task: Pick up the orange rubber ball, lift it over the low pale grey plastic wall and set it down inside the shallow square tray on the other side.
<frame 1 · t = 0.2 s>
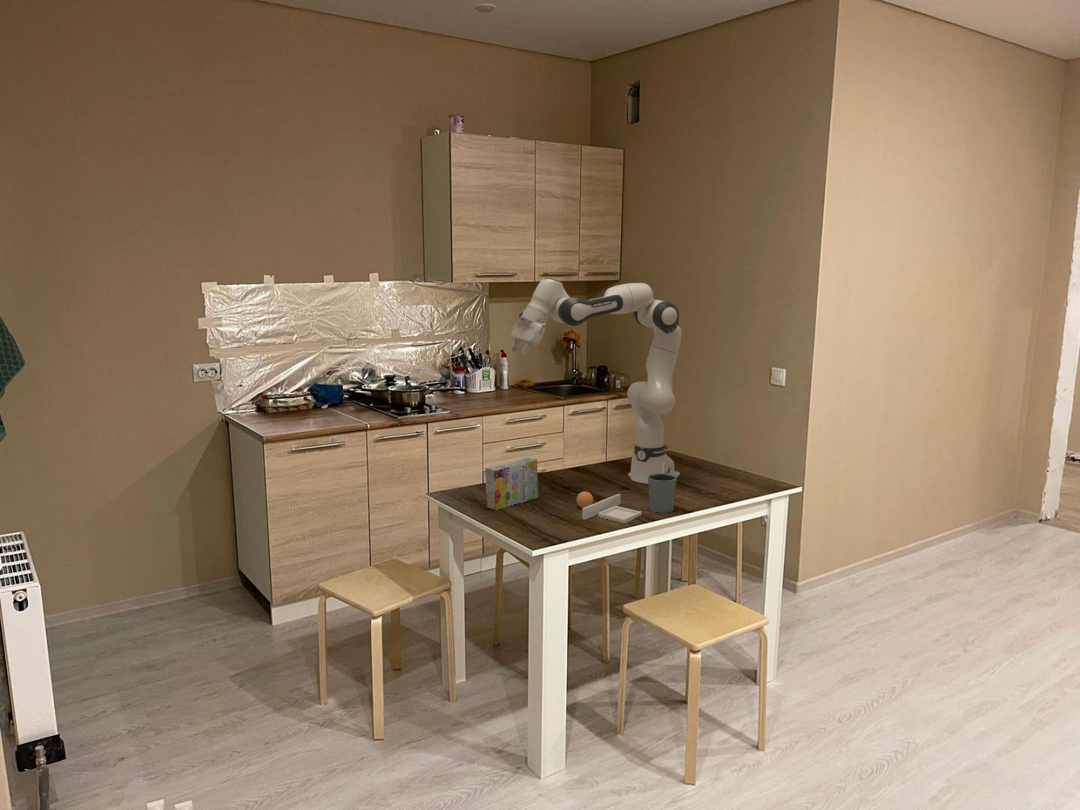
hand: (517, 352, 294), 54 cm above the table, tool tilted 30°, fingers open, 8 cm apart
low wall: (601, 512, 284), on the table
ball: (584, 499, 289), point 3 cm above the table
grey green cup: (661, 509, 288), on the table
square tray: (619, 516, 280), on the table
snack box: (512, 503, 295), on the table
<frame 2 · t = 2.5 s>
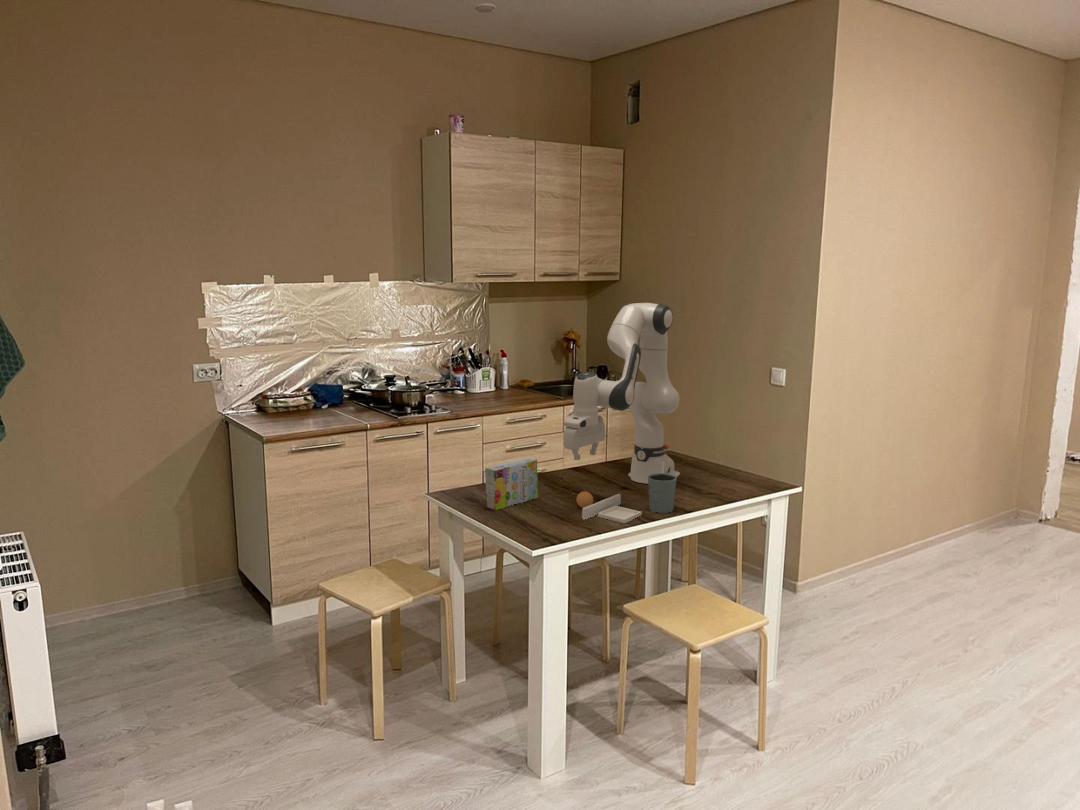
hand: (585, 457, 286), 19 cm above the table, tool pointing down, fingers open, 8 cm apart
nothing on the table moved.
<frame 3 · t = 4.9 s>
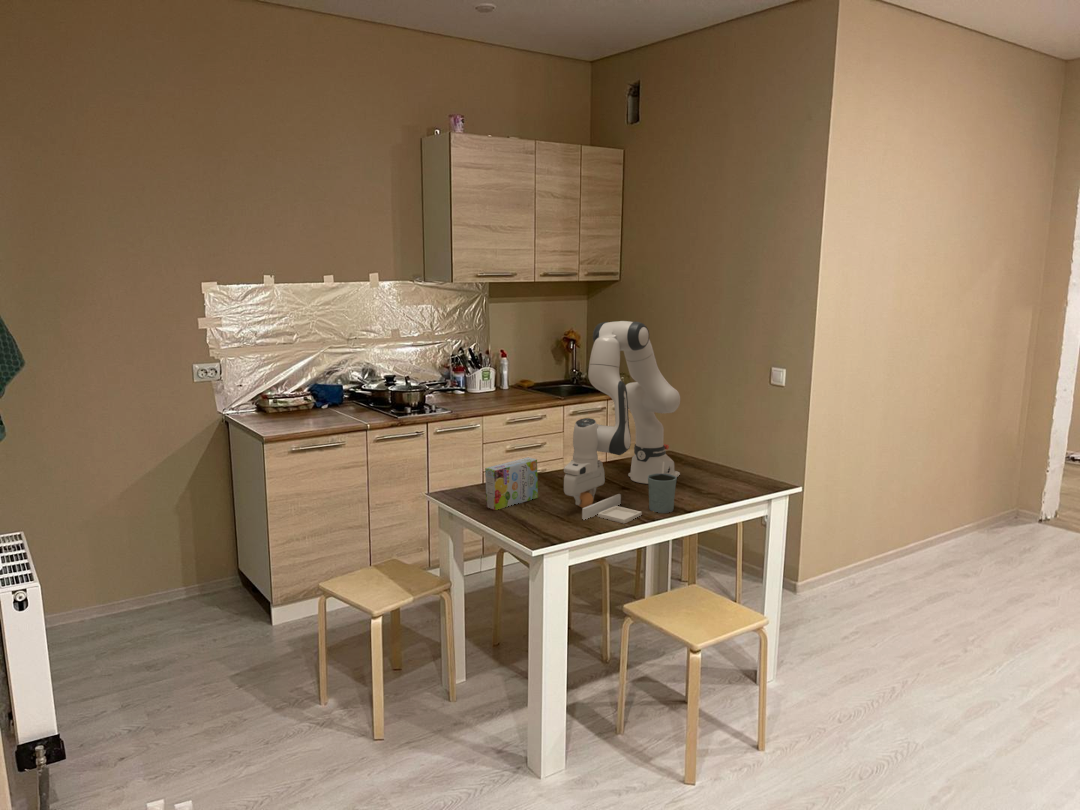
hand: (584, 502, 289), 2 cm above the table, tool pointing down, fingers closed on ball, 6 cm apart
ball: (584, 499, 289), point 3 cm above the table, touching gripper
everything else where it was.
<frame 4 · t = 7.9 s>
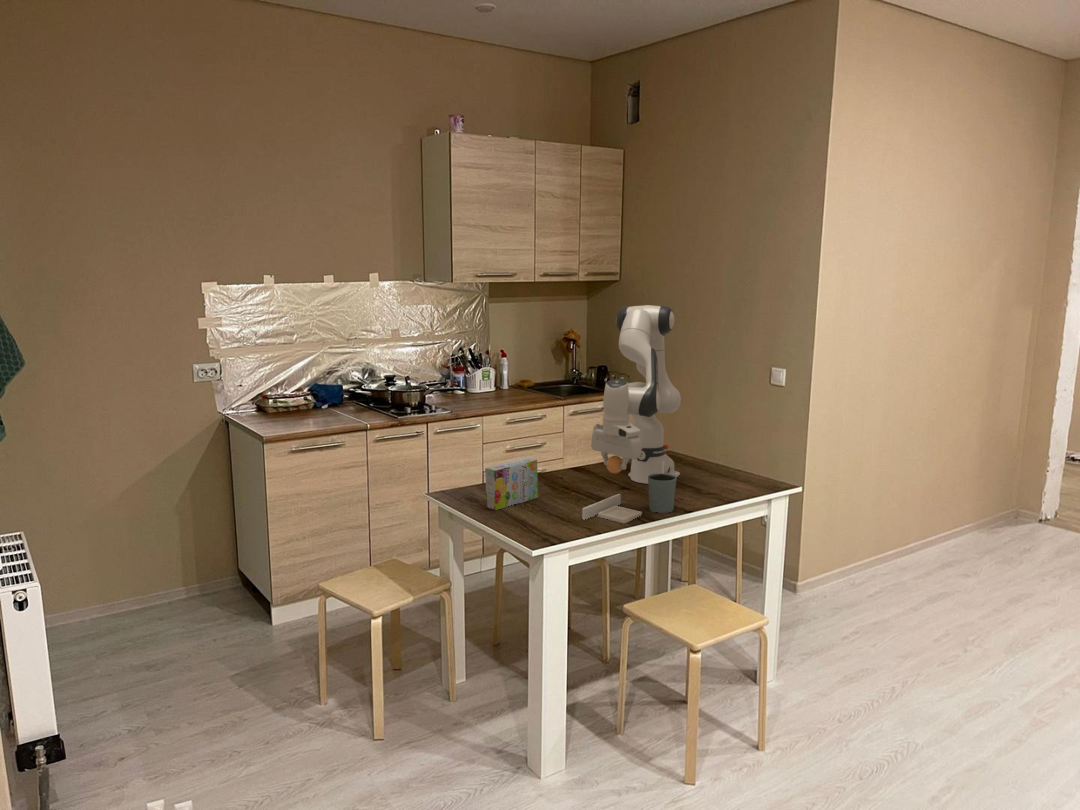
hand: (615, 467, 278), 17 cm above the table, tool pointing down, fingers closed on ball, 6 cm apart
ball: (615, 464, 278), point 18 cm above the table, touching gripper
everything else where it was.
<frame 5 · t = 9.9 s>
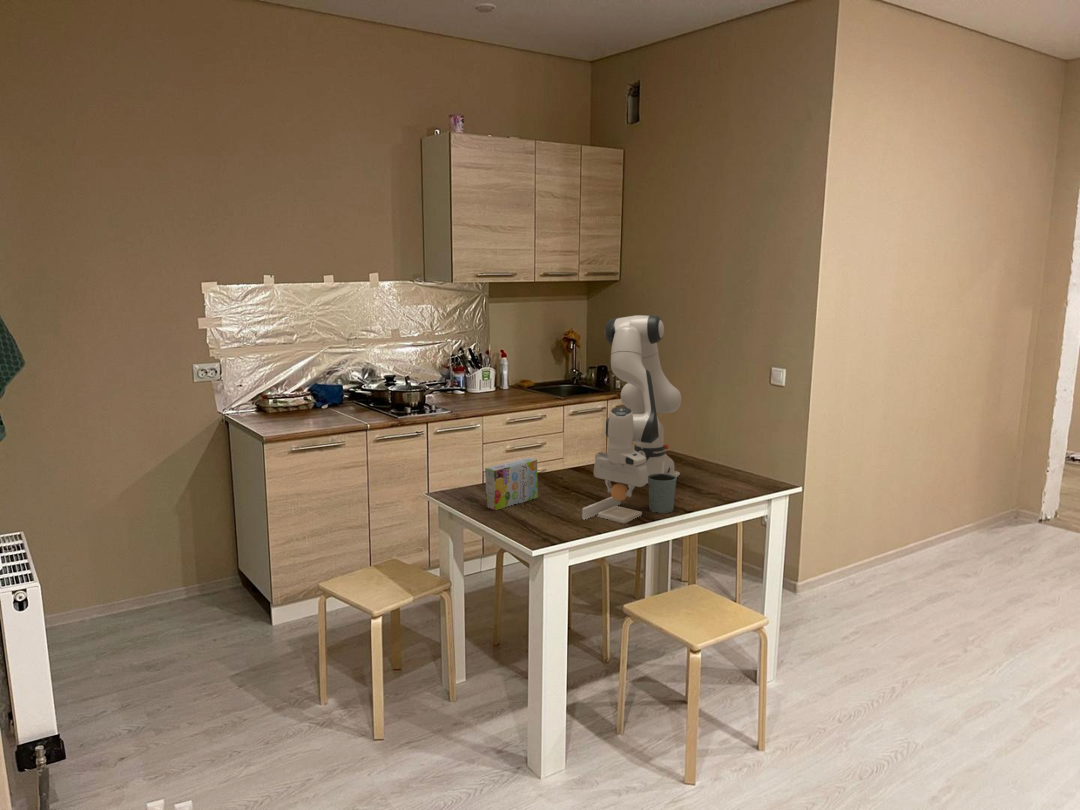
hand: (619, 494, 278), 8 cm above the table, tool pointing down, fingers closed on ball, 6 cm apart
ball: (619, 491, 278), point 9 cm above the table, touching gripper
everything else where it was.
when the fingers open (4 cm above the table, at t = 11.2 s): ball drops 2 cm, resting on square tray.
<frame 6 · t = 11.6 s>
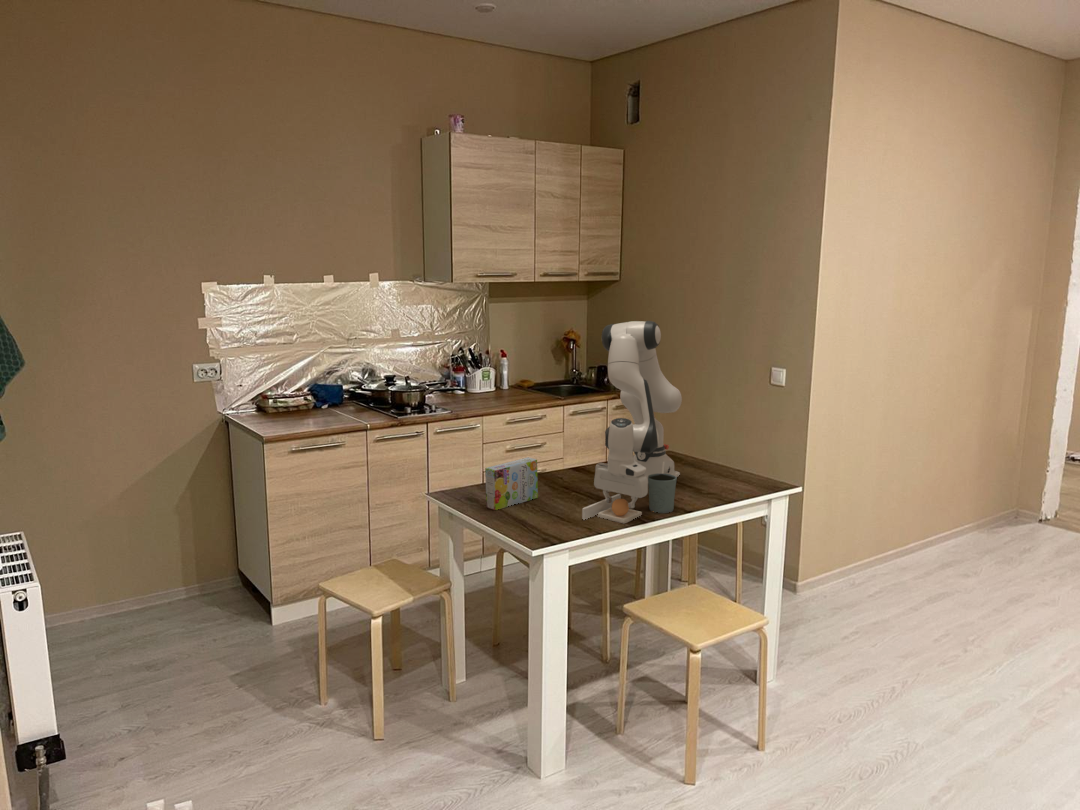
hand: (619, 505, 279), 4 cm above the table, tool pointing down, fingers open, 8 cm apart
ball: (620, 507, 279), point 3 cm above the table, touching square tray
everything else where it was.
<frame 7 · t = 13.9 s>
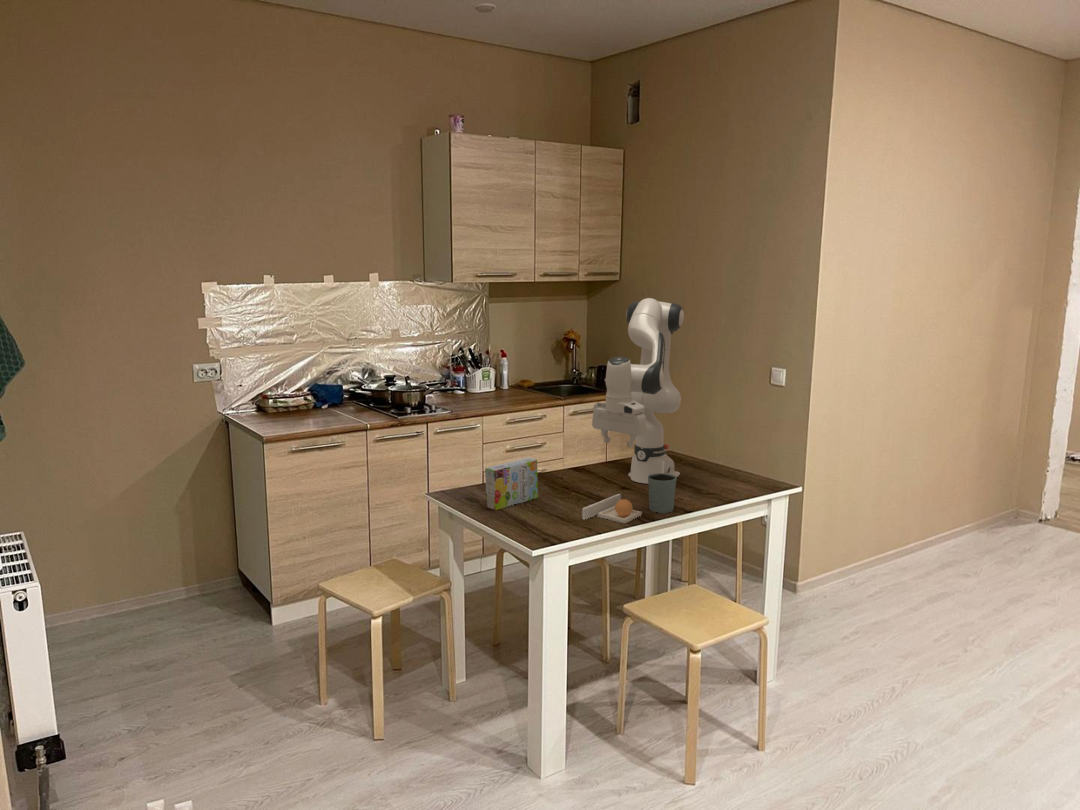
hand: (618, 444, 278), 25 cm above the table, tool pointing down, fingers open, 8 cm apart
ball: (623, 507, 278), point 3 cm above the table, tilted 33°, touching square tray
everything else where it was.
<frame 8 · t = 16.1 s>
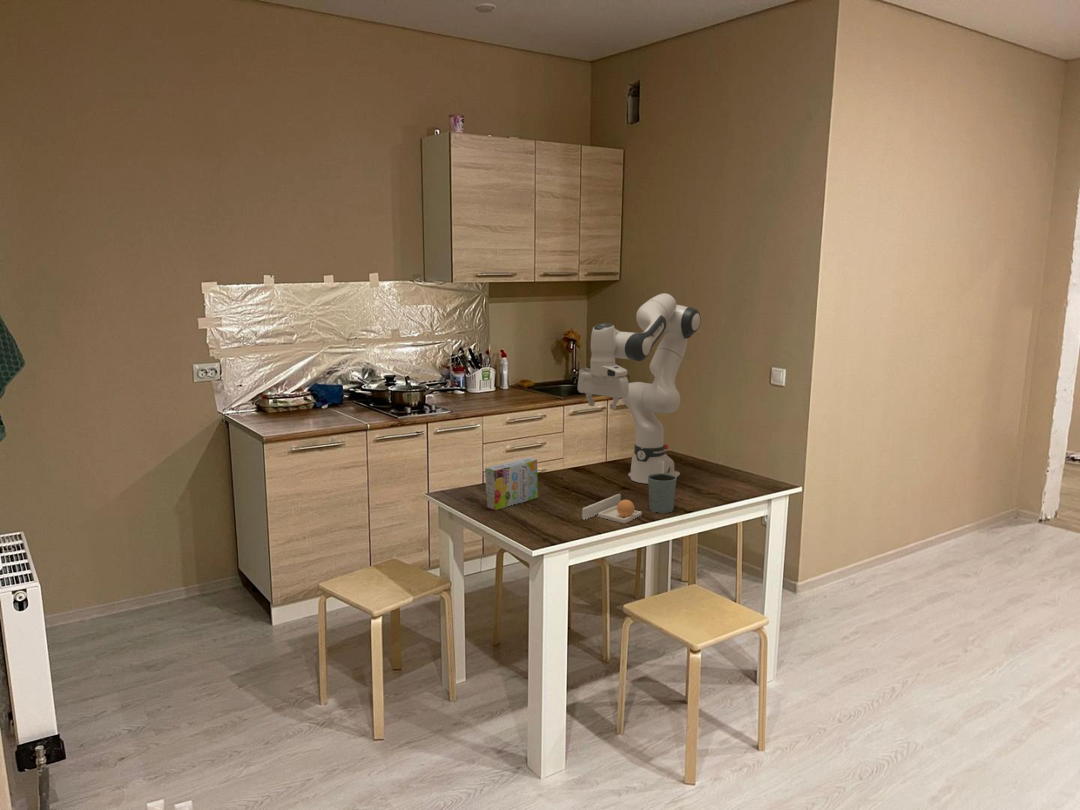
hand: (602, 407, 290), 35 cm above the table, tool pointing down, fingers open, 8 cm apart
ball: (625, 508, 278), point 3 cm above the table, tilted 47°, touching square tray
everything else where it was.
at the end: ball 2.4 cm off-centre on the square tray, point 3.4 cm above the square tray's base; ball touching square tray; the gripper is holding nothing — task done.
